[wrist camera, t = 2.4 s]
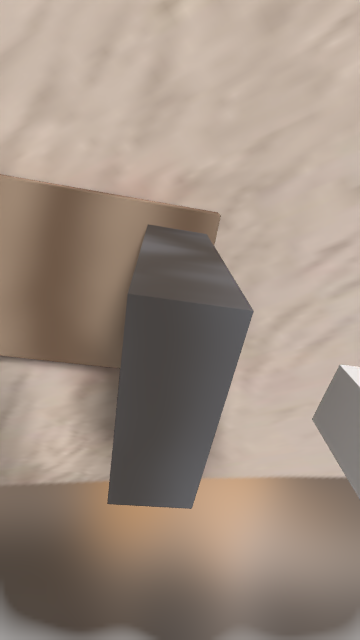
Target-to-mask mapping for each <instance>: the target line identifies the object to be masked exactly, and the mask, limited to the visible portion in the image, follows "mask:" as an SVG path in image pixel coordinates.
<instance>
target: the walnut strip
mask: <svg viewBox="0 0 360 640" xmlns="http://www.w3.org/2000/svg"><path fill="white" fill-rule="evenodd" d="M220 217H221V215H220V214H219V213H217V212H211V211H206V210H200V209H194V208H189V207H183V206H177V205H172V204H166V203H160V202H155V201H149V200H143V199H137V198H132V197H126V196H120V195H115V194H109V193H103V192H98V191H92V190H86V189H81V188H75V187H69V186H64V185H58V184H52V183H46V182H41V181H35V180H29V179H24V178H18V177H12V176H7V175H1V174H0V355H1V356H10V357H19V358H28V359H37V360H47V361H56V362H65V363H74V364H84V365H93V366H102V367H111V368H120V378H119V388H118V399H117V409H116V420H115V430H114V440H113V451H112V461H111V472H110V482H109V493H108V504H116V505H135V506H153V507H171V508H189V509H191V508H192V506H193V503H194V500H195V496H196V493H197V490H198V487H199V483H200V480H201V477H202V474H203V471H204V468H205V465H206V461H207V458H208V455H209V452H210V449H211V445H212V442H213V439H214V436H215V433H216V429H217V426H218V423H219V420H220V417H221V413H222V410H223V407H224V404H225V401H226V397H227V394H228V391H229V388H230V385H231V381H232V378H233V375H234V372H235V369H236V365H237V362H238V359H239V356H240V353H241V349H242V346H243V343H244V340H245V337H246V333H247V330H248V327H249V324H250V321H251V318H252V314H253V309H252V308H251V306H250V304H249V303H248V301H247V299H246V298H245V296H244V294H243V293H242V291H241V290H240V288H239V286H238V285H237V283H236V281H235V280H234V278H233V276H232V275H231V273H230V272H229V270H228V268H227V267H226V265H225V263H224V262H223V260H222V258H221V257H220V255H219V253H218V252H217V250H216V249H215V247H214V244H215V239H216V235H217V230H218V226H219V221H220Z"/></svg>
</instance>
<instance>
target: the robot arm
mask: <svg viewBox="0 0 360 640" xmlns="http://www.w3.org/2000/svg"><path fill="white" fill-rule="evenodd" d="M312 420H313V422H314V423H315V425H316V427H317V428H318V430H319V432H320V433H321V435H322V437H323V438H324V440H325V442H326V443H327V445H328V447H329V449H330V450H331V452H332V454H333V455H334V457H335V459H336V460H337V462H338V464H339V465H340V467H341V469H342V470H343V472H344V474H345V476H346V477H347V479H348V481H349V482H350V484H351V486H352V487H353V489H354V491H355V492H356V494H357V496H358V497H359V499H360V368H359V367H356V366H347V365H339V367H338V369H337V371H336V373H335V375H334V377H333V379H332V381H331V383H330V385H329V387H328V389H327V391H326V393H325V395H324V397H323V398H322V400H321V402H320V404H319V406H318V408H317V410H316V412H315V414H314V416H313V418H312Z"/></svg>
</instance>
